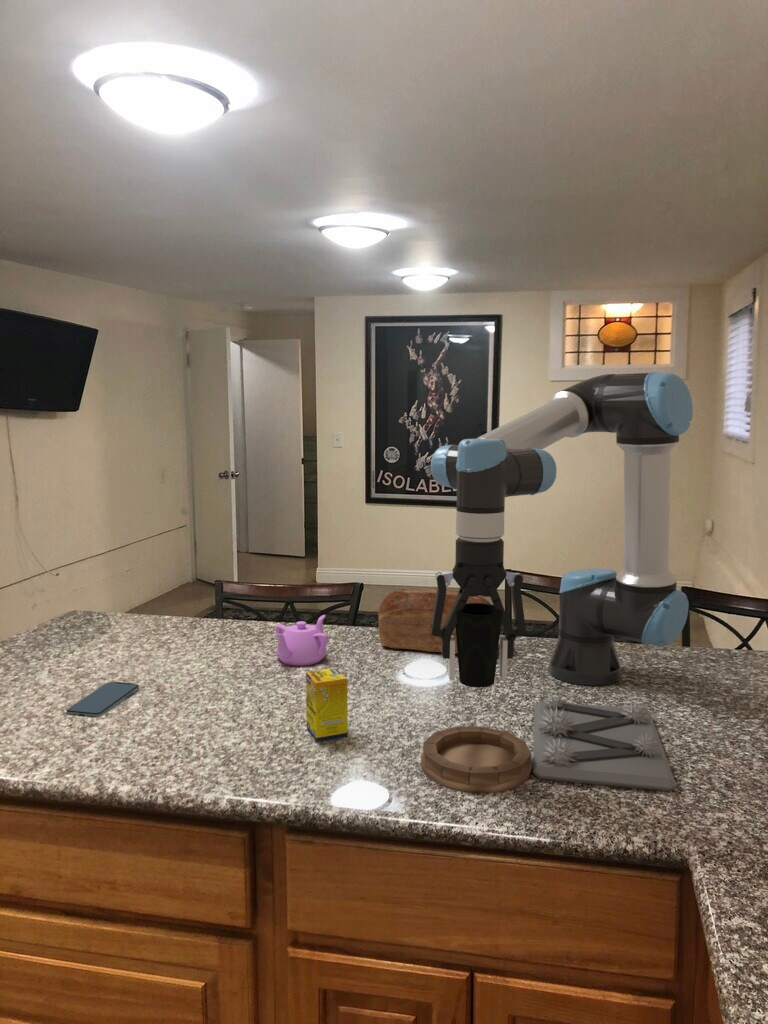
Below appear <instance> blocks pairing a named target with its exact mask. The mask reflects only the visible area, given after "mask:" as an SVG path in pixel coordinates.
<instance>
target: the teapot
mask: <svg viewBox="0 0 768 1024" xmlns="http://www.w3.org/2000/svg"><path fill="white" fill-rule="evenodd" d="M325 617H326V614H323V615H320V616H319V617H318V620H317V622H316V625H315V626H314V625H313V624H307V622H306V621H303V620H301V621H296V624H293V625H290V626H288V627H287V626H285V625H284V624H281V623H280V624H279V623H277V624H276V625H275V634H274V635H275V636H276V637H277V639H278V641H277V642H278V643H277V647H276V656H277V658H278V659H279V660H280V662H282V663H284V664H285V665H289V666H296V667H298V666H299V667H300V666H302V667H303V666H313V665H315V664H318V663H320V662H321V661H322V660H323V659H324V658H325V656H326V655H327V645H328V641H329V635H328V634H327V633H324V629H323V628H324V626H323V623H324V619H325ZM283 631H284V632H283Z"/></svg>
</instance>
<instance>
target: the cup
mask: <svg viewBox="0 0 768 1024" xmlns="http://www.w3.org/2000/svg"><path fill="white" fill-rule="evenodd" d="M501 620H502V611H500V612H498V613H497V612H496V610H495V607H494V605H493V603H490V604H485V603H466V604H465V606H464V608H463V610H462V612H459V611H457V624H456V626H455V627H456V640H457V653H458V654H457V663H458V664H457V665H458V674H459V677H458V678H459V683H460V684H462V685H463V686H466V687H470V688H478V689H479V688H481V689H482V688H488V687H491V686H493V685H494V684H495V678H496V673H497V663H498V655H499V654H498V653H499V648H500V636H501V628H502V625H501Z"/></svg>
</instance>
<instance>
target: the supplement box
mask: <svg viewBox="0 0 768 1024" xmlns="http://www.w3.org/2000/svg"><path fill="white" fill-rule="evenodd" d="M305 683H306V684H305V688H306V690H305V691H306V695H305V696H306V700H305V701H306V730H307V731H308V732H309V733H310V734H311V736H312V737H313V738H314V740H315V741H316V742H317V743H320V742H324V741H331V740H336V739H341V738H346V737H348V736H349V735H348V678H347V677H345V676H344V675H343V674H342V672H340V670H338V668H336V667H334V668H333V667H332V668H327V669H320V670H314V671H313V670H312V671H307V672H305Z"/></svg>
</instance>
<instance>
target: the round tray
mask: <svg viewBox="0 0 768 1024" xmlns="http://www.w3.org/2000/svg"><path fill="white" fill-rule="evenodd" d="M422 744H423V745H422V746H423V747H422V753H421V756H420V767H421V770H422V772H423V773H424V775H426V777H427V778H429V779H430V780H431V781H433V782H435V783H437V784H439V785H441V786H443V787H445V788H448V789H453V790H456V791H462V792H466V793H467V792H468V793H478V794H479V793H481V794H485V793H486V794H487V793H489V794H490V793H499V792H500V793H501V792H504V791H505V792H506V791H509V790H512V789H515V788H518V787H520V786H522V785H523V784H525V783H526V782H527V781H528V780H529V779H530V778H531V775H532V773H533V761H532V752H531V751H530V748H529V747H528V746H529V745H528V744H527V742H526V741H525V740H523V739H522V738H521V737H520V738H519V737H518V736H516V735H514V734H513V733H510V732H509V731H505V730H501V729H496V728H492V727H486V726H454V727H450V728H445V729H443V730H442V729H441V730H438V731H434V732H433V733H432V734H431V735H430V736H428V738H426V739H425V740H424V741H423V743H422Z"/></svg>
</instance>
